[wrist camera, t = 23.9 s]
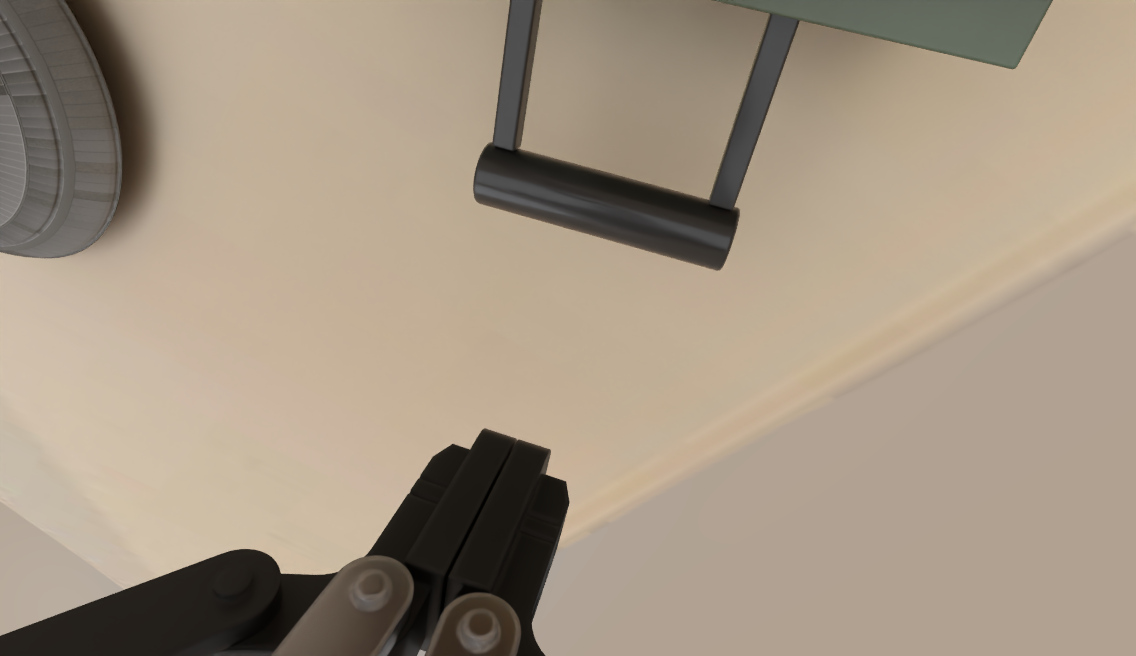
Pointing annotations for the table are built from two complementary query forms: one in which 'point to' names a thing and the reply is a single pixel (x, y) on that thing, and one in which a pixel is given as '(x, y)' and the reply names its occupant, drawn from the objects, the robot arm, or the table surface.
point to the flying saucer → (53, 134)
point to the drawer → (707, 227)
